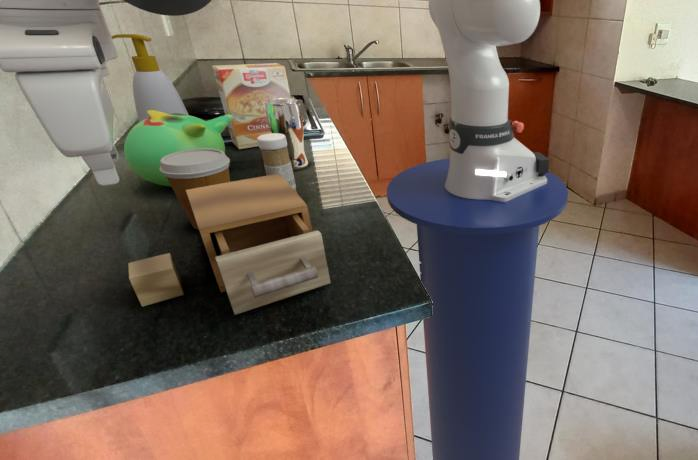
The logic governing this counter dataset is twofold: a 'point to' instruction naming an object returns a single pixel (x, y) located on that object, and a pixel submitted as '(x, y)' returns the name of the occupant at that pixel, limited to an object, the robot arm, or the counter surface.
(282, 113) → the beer glass
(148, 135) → the toy bird
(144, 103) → the soap bottle
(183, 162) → the disposable coffee cup
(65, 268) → the counter surface
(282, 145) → the sprinkles bottle
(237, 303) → the drawer
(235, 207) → the cabinet
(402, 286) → the counter surface
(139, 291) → the block
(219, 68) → the coffeecake box
